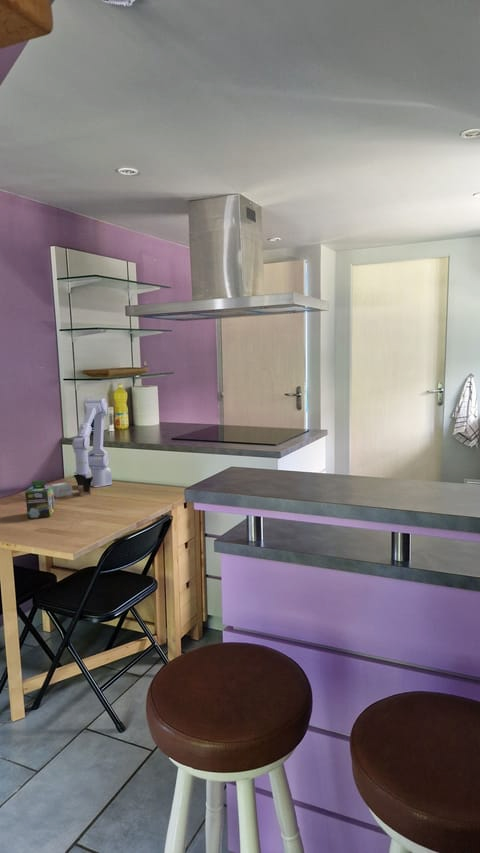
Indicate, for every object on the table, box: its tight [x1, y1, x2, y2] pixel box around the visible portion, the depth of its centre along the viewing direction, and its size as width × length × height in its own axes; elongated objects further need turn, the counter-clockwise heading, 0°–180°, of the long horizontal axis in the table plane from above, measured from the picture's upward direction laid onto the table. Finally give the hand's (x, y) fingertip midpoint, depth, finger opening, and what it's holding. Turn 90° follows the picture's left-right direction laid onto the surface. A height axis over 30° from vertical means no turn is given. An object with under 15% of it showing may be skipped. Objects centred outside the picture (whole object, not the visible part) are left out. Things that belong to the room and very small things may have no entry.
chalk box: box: [24, 480, 56, 519], centre depth 224 cm, size 9×9×15 cm
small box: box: [52, 481, 74, 498], centre depth 257 cm, size 8×8×5 cm
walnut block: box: [77, 485, 92, 497], centre depth 257 cm, size 4×4×4 cm
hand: (84, 490), depth 257 cm, fingers open, 7 cm apart
